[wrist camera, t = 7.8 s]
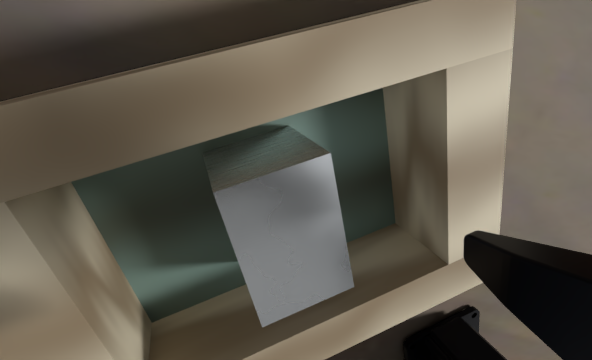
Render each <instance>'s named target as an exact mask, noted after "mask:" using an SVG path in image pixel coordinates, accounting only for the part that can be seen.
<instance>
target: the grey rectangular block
mask: <svg viewBox="0 0 592 360" xmlns="http://www.w3.org/2000/svg"><path fill="white" fill-rule="evenodd" d="M202 153H203V157H204V161H205V164H206V168H207V172H208V176H209V179H210V183H211V187H212V191H213V194H214V197H215V200H216V202H217V205H218V208H219V210H220V213H221V216H222V219H223V221H224V224H225V227H226V230H227V232H228V235H229V238H230V241H231V243H232V246H233V249H234V252H235V254H236V257H237V260H238V262H239V265H240V268H241V271H242V273H243V276H244V279H245V282H246V284H247V287H248V290H249V293H250V295H251V298H252V301H253V304H254V306H255V309H256V312H257V315H258V317H259V320H260V323H261V325H262V327H265V326H267V325H269V324H271V323H274V322H276V321H278V320H281V319H283V318H285V317H287V316H290V315H292V314H294V313H296V312H299V311H301V310H303V309H305V308H308V307H310V306H312V305H314V304H317V303H319V302H321V301H323V300H326V299H328V298H330V297H333V296H335V295H337V294H339V293H342V292H344V291H346V290H348V289H351V288H353V287H354V282H353V277H352V271H351V265H350V260H349V254H348V248H347V242H346V237H345V231H344V225H343V220H342V214H341V208H340V203H339V197H338V191H337V186H336V180H335V174H334V169H333V163H332V157H331V153H330V152H328V151H327V150H325V149H324V148H322V147H321V146H319V145H318V144H316V143H315V142H313V141H312V140H310V139H309V138H307V137H306V136H304V135H303V134H301V133H300V132H298V131H297V130H295V129H294V128H292V127H290V126H286V127H283V128H280V129H276V130H273V131H270V132H267V133H263V134H260V135H257V136H254V137H250V138H247V139H244V140H241V141H237V142H234V143H231V144H228V145H224V146H221V147H218V148H215V149H211V150H208V151H205V152H202Z"/></svg>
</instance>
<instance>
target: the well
mask: <svg viewBox="0 0 592 360" xmlns="http://www.w3.org/2000/svg"><path fill="white" fill-rule="evenodd" d="M515 12H516V0H418V1H414V2H409V3H405V4H401V5H397V6H393V7H389V8H385V9H381V10H376V11H372V12H368V13H364V14H360V15H356V16H352V17H348V18H343V19H339V20H335V21H331V22H327V23H323V24H319V25H315V26H310V27H306V28H302V29H298V30H294V31H290V32H286V33H282V34H277V35H273V36H269V37H265V38H261V39H257V40H253V41H248V42H244V43H240V44H236V45H232V46H228V47H224V48H220V49H215V50H211V51H207V52H203V53H199V54H195V55H191V56H187V57H182V58H178V59H174V60H170V61H166V62H162V63H158V64H154V65H149V66H145V67H141V68H137V69H133V70H129V71H125V72H121V73H116V74H112V75H108V76H104V77H100V78H96V79H92V80H88V81H83V82H79V83H75V84H71V85H67V86H63V87H59V88H55V89H50V90H46V91H42V92H38V93H34V94H30V95H26V96H22V97H17V98H13V99H9V100H5V101H1V102H0V360H325V359H327V358H329V357H331V356H333V355H335V354H338V353H340V352H342V351H344V350H346V349H348V348H350V347H352V346H354V345H356V344H358V343H360V342H362V341H364V340H366V339H368V338H370V337H372V336H374V335H376V334H379V333H381V332H383V331H385V330H387V329H389V328H391V327H393V326H395V325H397V324H399V323H401V322H403V321H405V320H407V319H409V318H411V317H413V316H415V315H418V314H420V313H422V312H424V311H426V310H428V309H430V308H432V307H434V306H436V305H438V304H440V303H442V302H444V301H446V300H448V299H450V298H452V297H454V296H456V295H459V294H461V293H463V292H465V291H467V290H469V289H471V288H473V287H475V286H477V285H479V284H481V283H483V282H482V281H481V280H480V279H479V277H478V276H477V275H476V274H475V273H474V272H473V271H472V270H471V269H470V268H469V266H468V265H467V264H466V262H465V260H464V257H463V251H464V237H465V235H467V234H469V233H471V232H474V231H477V230H479V231H484V232H489V233H494V234H498V235H499V233H500V219H501V205H502V191H503V177H504V164H505V150H506V136H507V122H508V109H509V95H510V81H511V67H512V53H513V40H514V26H515ZM286 126H290V127H292V128H294V129H295V130H297V131H298V132H300V133H301V134H303V135H304V136H306V137H307V138H309V139H310V140H312V141H313V142H315V143H316V144H318V145H319V146H321V147H322V148H324V149H325V150H327V151H328V152H330V153H331V157H332V163H333V169H334V174H335V180H336V186H337V191H338V197H339V203H340V208H341V214H342V220H343V225H344V231H345V237H346V242H347V248H348V254H349V260H350V265H351V271H352V277H353V282H354V287H353V288H351V289H348V290H346V291H344V292H342V293H339V294H337V295H335V296H333V297H330V298H328V299H326V300H323V301H321V302H319V303H317V304H314V305H312V306H310V307H308V308H305V309H303V310H301V311H299V312H296V313H294V314H292V315H290V316H287V317H285V318H283V319H281V320H278V321H276V322H274V323H271V324H269V325H267V326H265V327H262V325H261V323H260V320H259V317H258V315H257V312H256V309H255V306H254V304H253V301H252V298H251V295H250V293H249V290H248V287H247V284H246V282H245V279H244V276H243V273H242V271H241V268H240V265H239V262H238V260H237V257H236V254H235V252H234V249H233V246H232V243H231V241H230V238H229V235H228V232H227V230H226V227H225V224H224V221H223V219H222V216H221V213H220V210H219V208H218V205H217V202H216V200H215V197H214V194H213V191H212V187H211V183H210V179H209V176H208V172H207V168H206V164H205V161H204V157H203V153H202V152H205V151H208V150H211V149H215V148H218V147H221V146H224V145H228V144H231V143H234V142H237V141H241V140H244V139H247V138H250V137H254V136H257V135H260V134H263V133H267V132H270V131H273V130H276V129H280V128H283V127H286Z"/></svg>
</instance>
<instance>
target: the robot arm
mask: <svg viewBox="0 0 592 360" xmlns="http://www.w3.org/2000/svg"><path fill="white" fill-rule="evenodd" d="M463 257H464V260H465V262H466V264H467V265H468V266H469V268H470V269H471V270H472V271H473V272H474V273H475V274H476V275H477V276H478V277H479V279H480V280H481V281H482V282H483V283H484V284H485V285H486V286H487V287H488V288H489V289H490V291H491V292H492V293H493V294H494V295H495V296H496V297H497V298H498V299H499V300H500V301H501V302H502V304H503V305H504V306H505V307H506V308H507V309H508V310H510V311H511V312H512V313H513V314H514V315H515V316H516V317H517V318H518V319H519V320H520V321H521V322H522V323H524V324H525V325H526V326H527V327H528V328H529V329H530V330H531V331H532V332H533V333H534V334H535V335H537V336H538V337H539V338H540V339H541V340H542V341H543V342H544V343H545V344H546V345H547V346H549V347H550V348H551V349H552V350H553V351H554V352H555V353H556V354H557V355H558V356H559V357H561V358H562V359H563V360H592V255H591V254H586V253H582V252H577V251H572V250H568V249H563V248H558V247H554V246H549V245H545V244H540V243H535V242H531V241H526V240H521V239H517V238H512V237H508V236H503V235H498V234H494V233H489V232H484V231H479V230H477V231H474V232H471V233H469V234H467V235H465V237H464V251H463ZM403 348H404V358H405V360H507V359H506V358H505V357H504V356H503V355H501V354H500V353H499V352H498V351H497V350H496V349H495V348H494V347H493V346H492V345H491V344H490V343H489V342H487V341H486V340H485V339H484V338H483V337H482V336H481V335H480V334H479V311H478V310H477V309H476V308H475V307H473V306H472V307H469V308H467V309H465V310H463V311H461V312H459V313H457V314H455V315H453V316H451V317H449V318H447V319H445V320H443V321H441V322H439V323H437V324H435V325H433V326H431V327H429V328H427V329H425V330H423V331H421V332H419V333H417V334H415V335H413V336H411V337H410V338H408V339H406V340H405V342H404V344H403Z"/></svg>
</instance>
